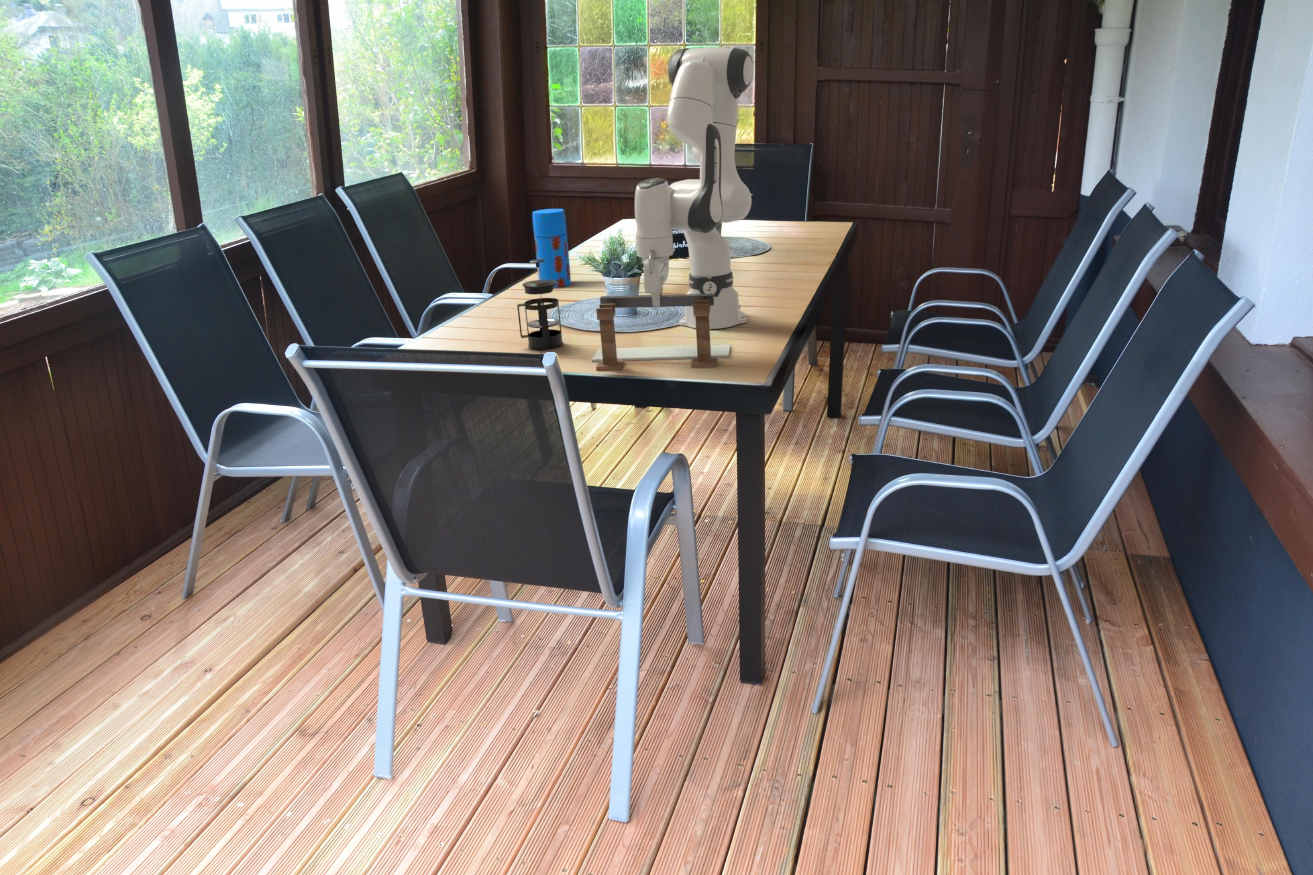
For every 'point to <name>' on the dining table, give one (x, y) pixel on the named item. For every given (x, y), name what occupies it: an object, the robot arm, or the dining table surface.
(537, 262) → the french press
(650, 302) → the rail
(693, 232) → the robot arm
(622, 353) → the mat
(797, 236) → the dining table surface
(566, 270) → the thermos
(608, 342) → the stands
